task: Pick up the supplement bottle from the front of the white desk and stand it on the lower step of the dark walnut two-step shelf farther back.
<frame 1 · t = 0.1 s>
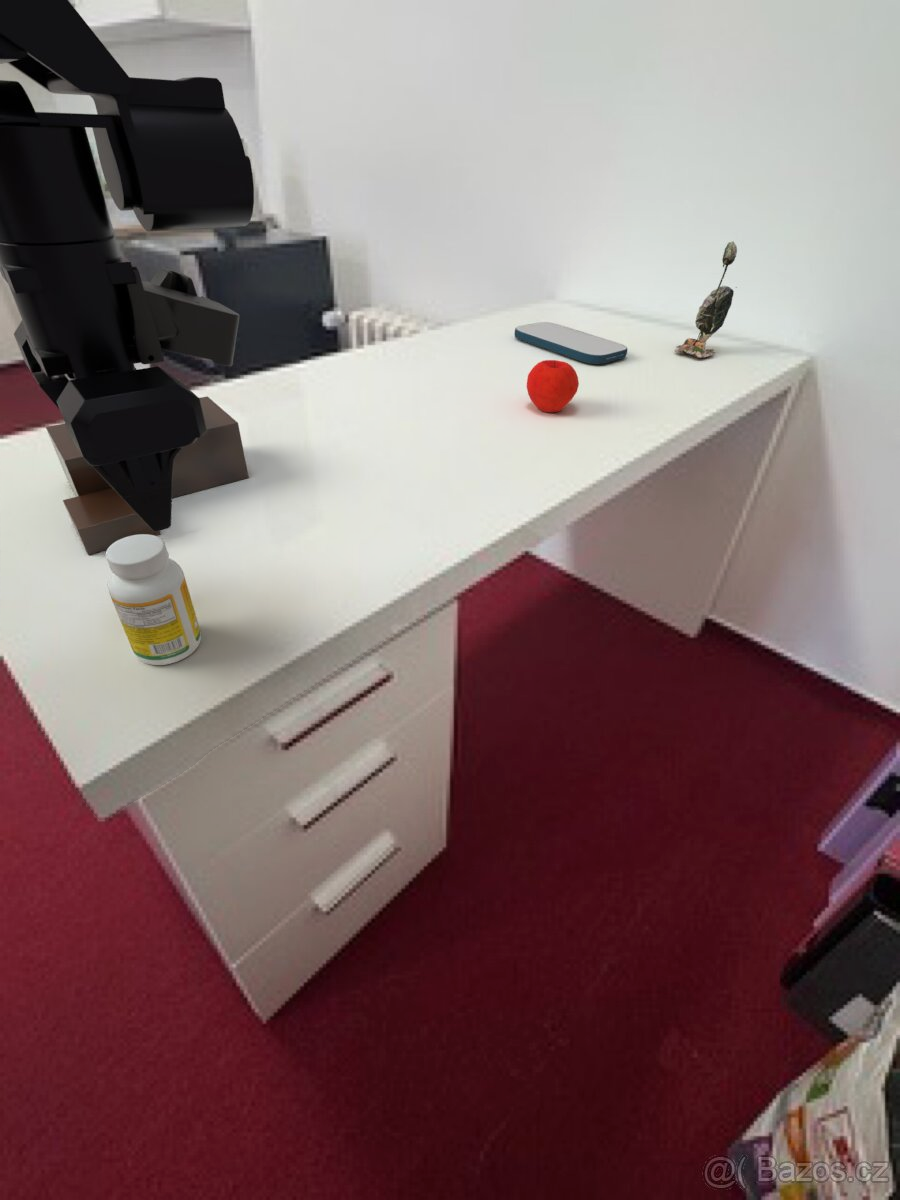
hand: (141, 499, 41), 14 cm above the table, tool pointing down, fingers open, 9 cm apart
external hard drive: (567, 348, 121), on the table
plant with pod: (696, 353, 121), on the table
apple: (548, 410, 94), on the table
supplement bottle: (169, 646, 50), on the table
step shelf: (159, 479, 72), on the table
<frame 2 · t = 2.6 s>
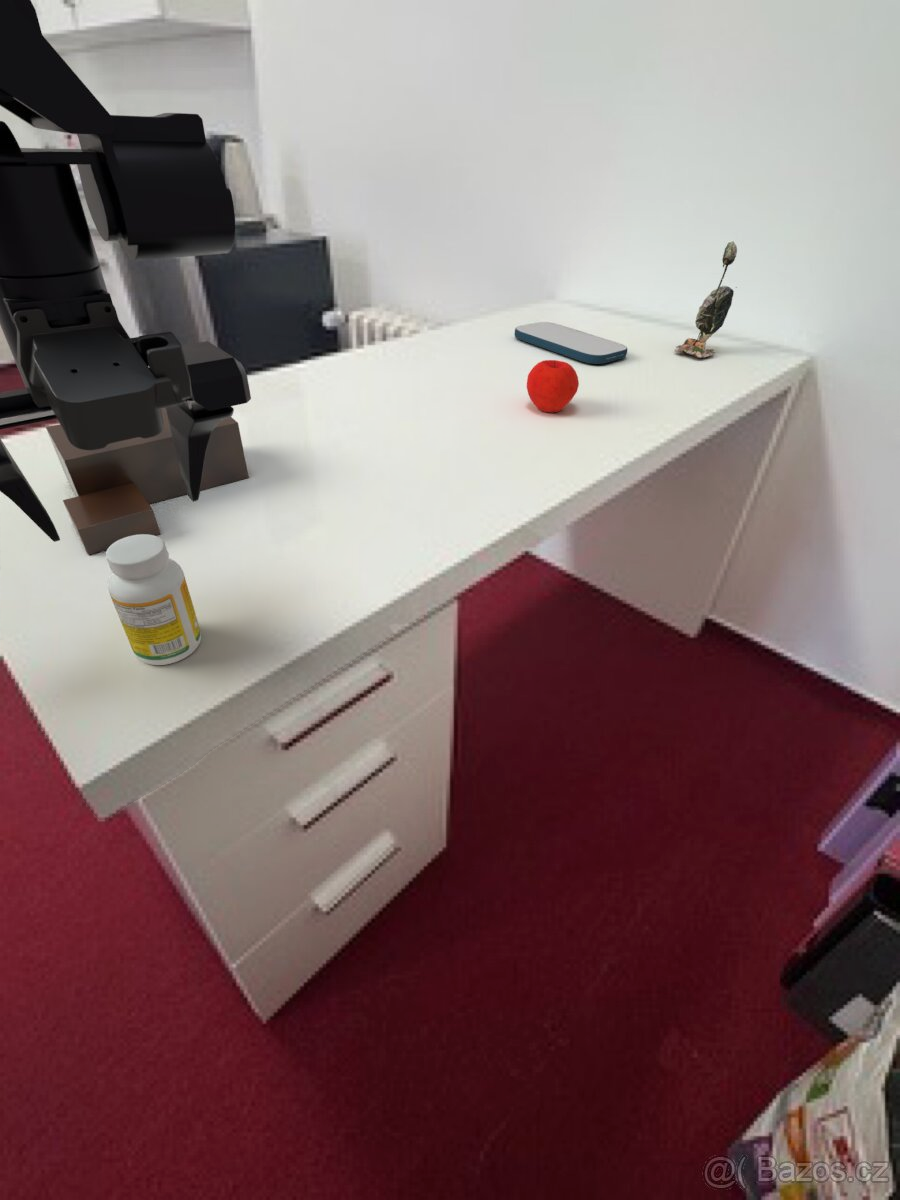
hand: (128, 517, 42), 12 cm above the table, tool pointing down, fingers open, 9 cm apart
nothing on the table moved.
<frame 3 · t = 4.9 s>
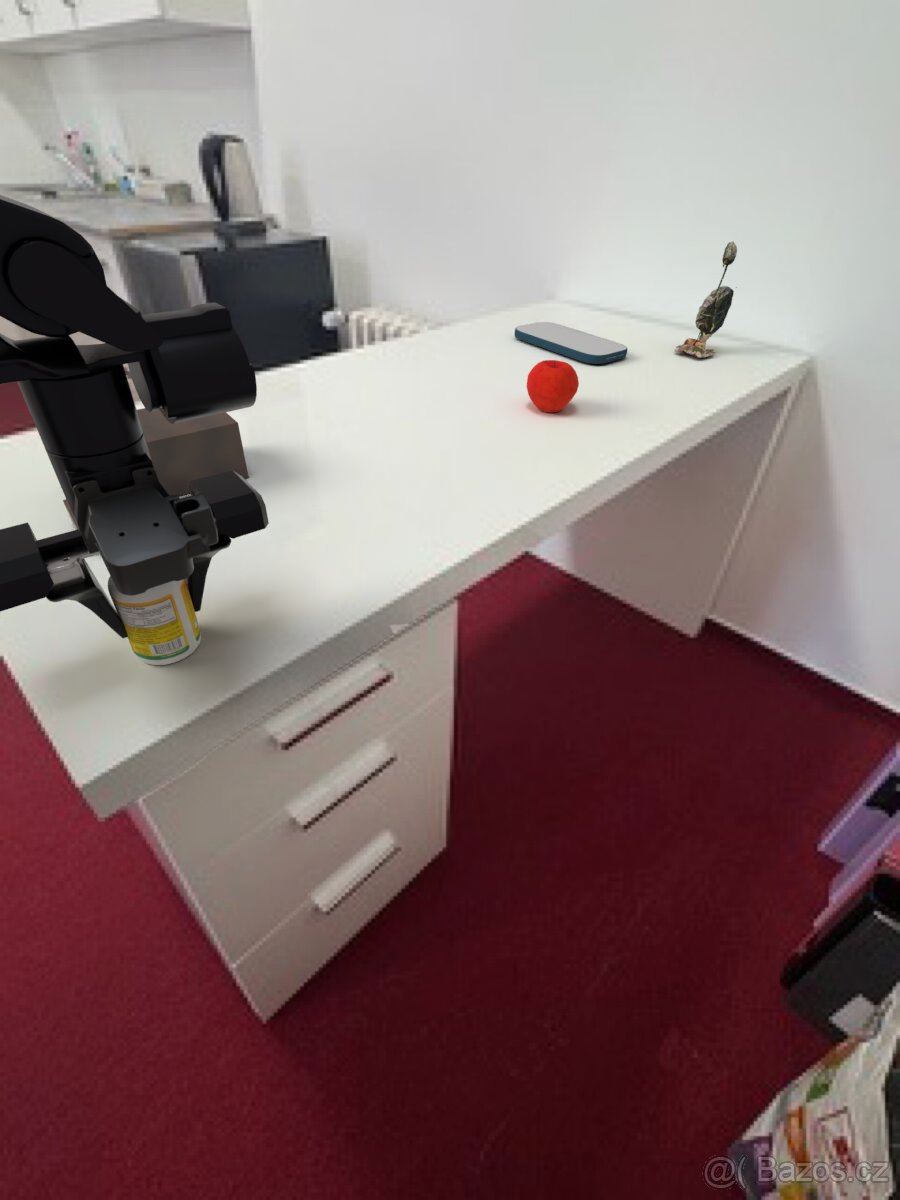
hand: (160, 621, 48), 3 cm above the table, tool pointing down, fingers closed on supplement bottle, 5 cm apart
supplement bottle: (169, 646, 50), on the table, touching gripper
everything else where it was.
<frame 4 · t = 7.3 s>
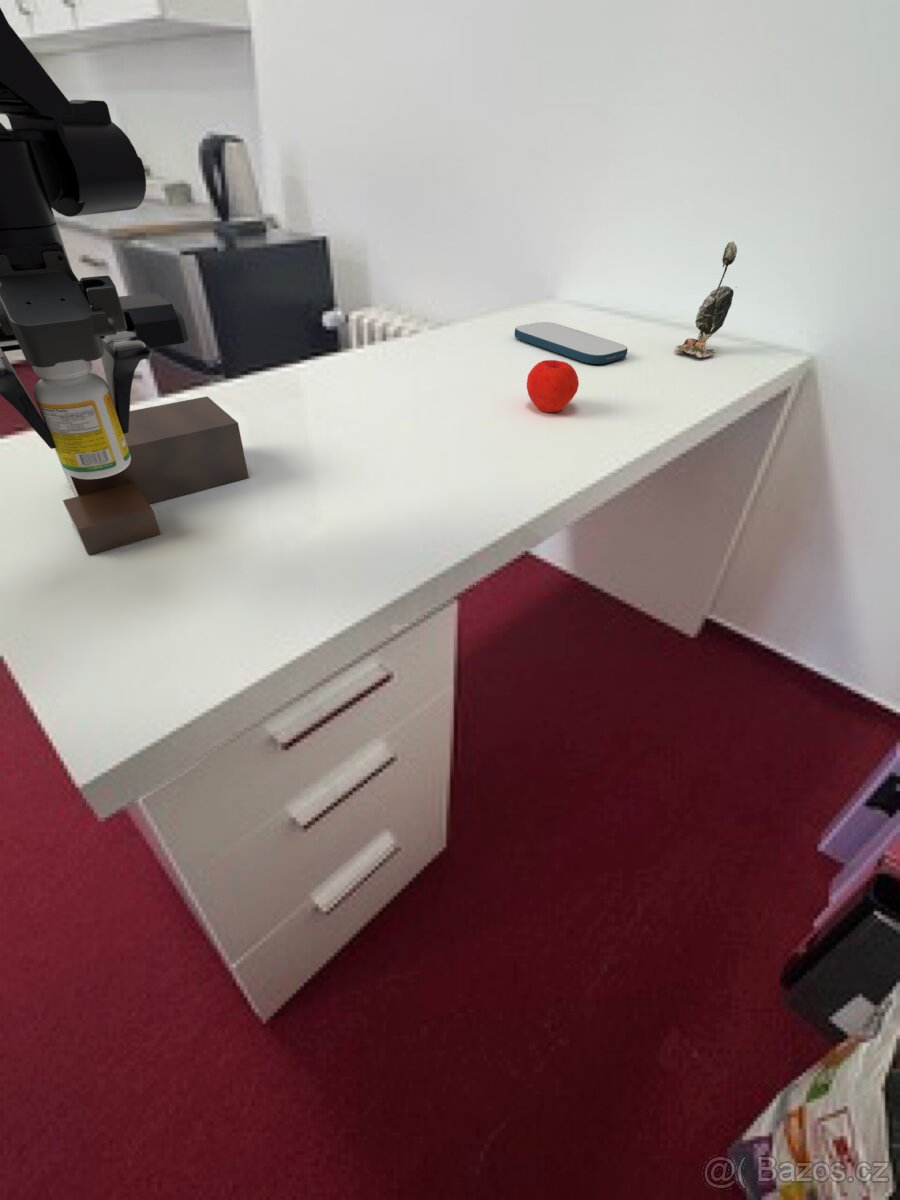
hand: (89, 439, 51), 13 cm above the table, tool pointing down, fingers closed on supplement bottle, 5 cm apart
supplement bottle: (100, 468, 52), point 10 cm above the table, touching gripper
everything else where it was.
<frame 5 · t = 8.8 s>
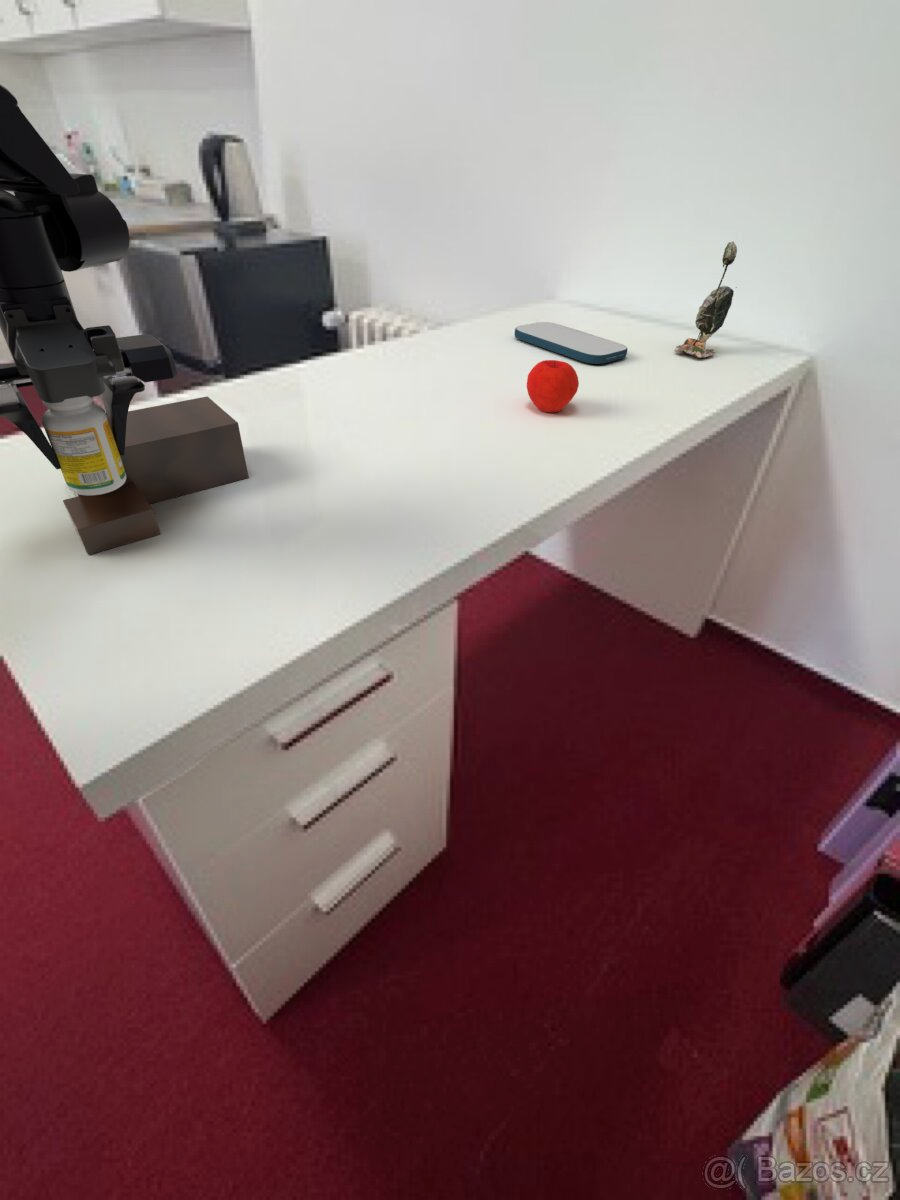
hand: (90, 460, 58), 8 cm above the table, tool pointing down, fingers closed on supplement bottle, 5 cm apart
supplement bottle: (99, 485, 59), point 5 cm above the table, touching gripper
everything else where it was.
when the fingers open (6 cm above the table, at t = 9.9 s): supplement bottle stays where it is, resting on step shelf.
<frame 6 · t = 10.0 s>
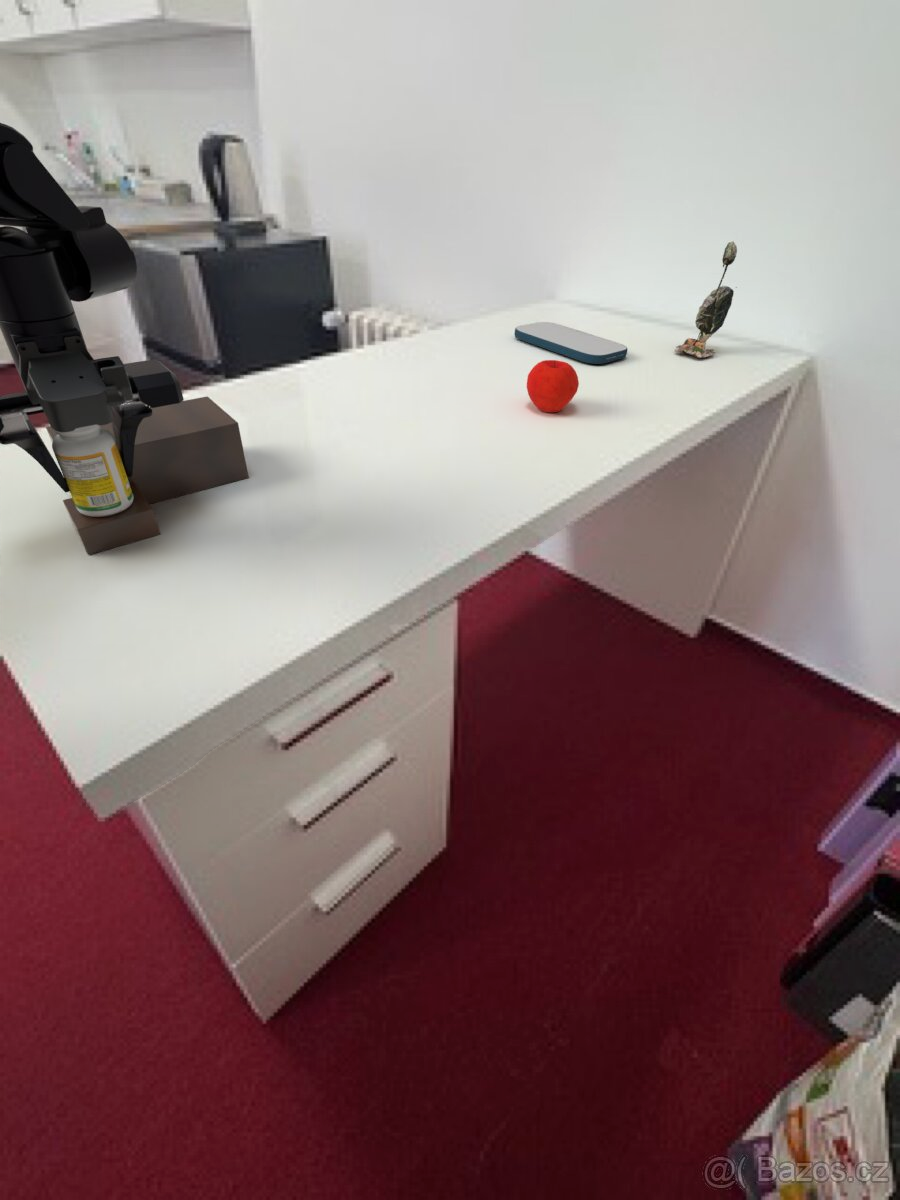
hand: (98, 482, 59), 6 cm above the table, tool pointing down, fingers open, 5 cm apart
supplement bottle: (107, 506, 61), point 3 cm above the table, touching step shelf
everything else where it was.
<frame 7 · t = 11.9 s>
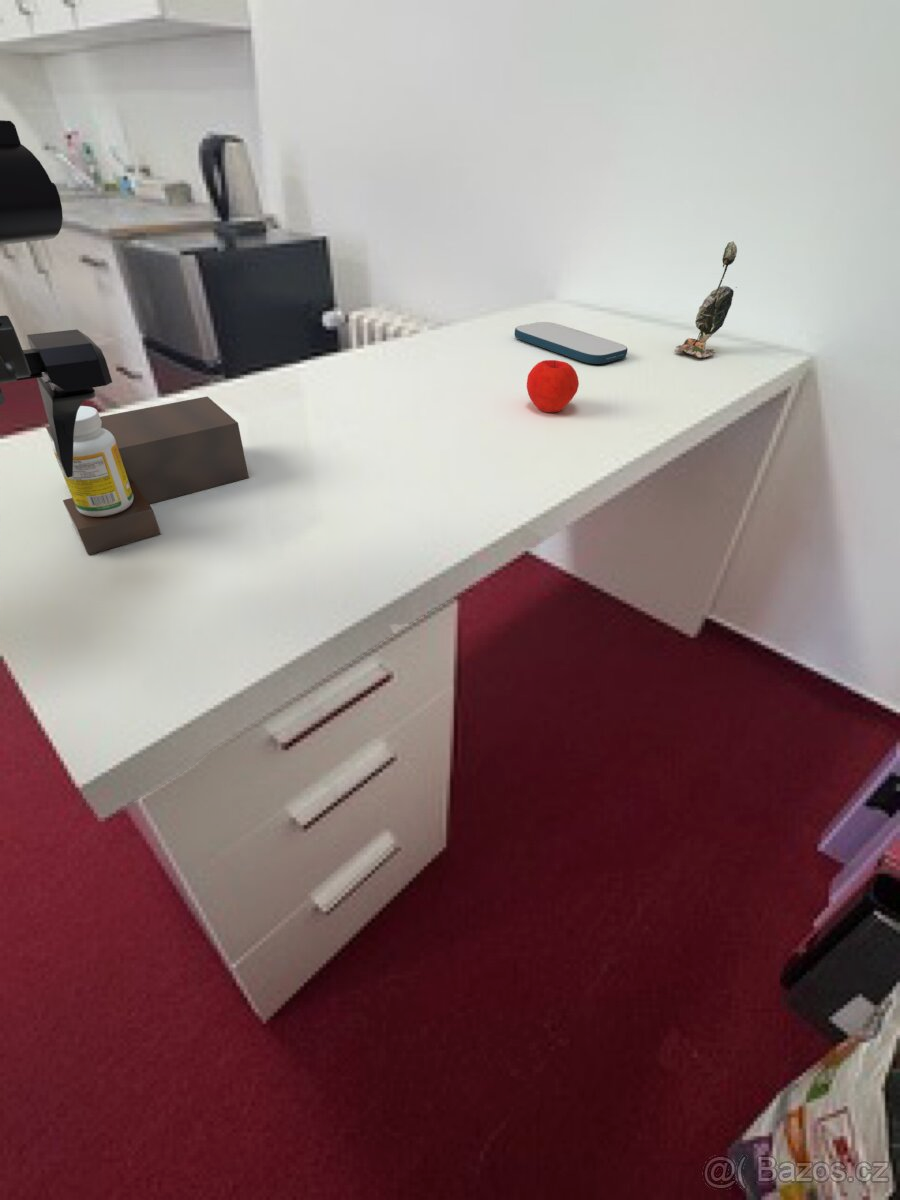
hand: (1, 490, 45), 12 cm above the table, tool pointing down, fingers open, 9 cm apart
nothing on the table moved.
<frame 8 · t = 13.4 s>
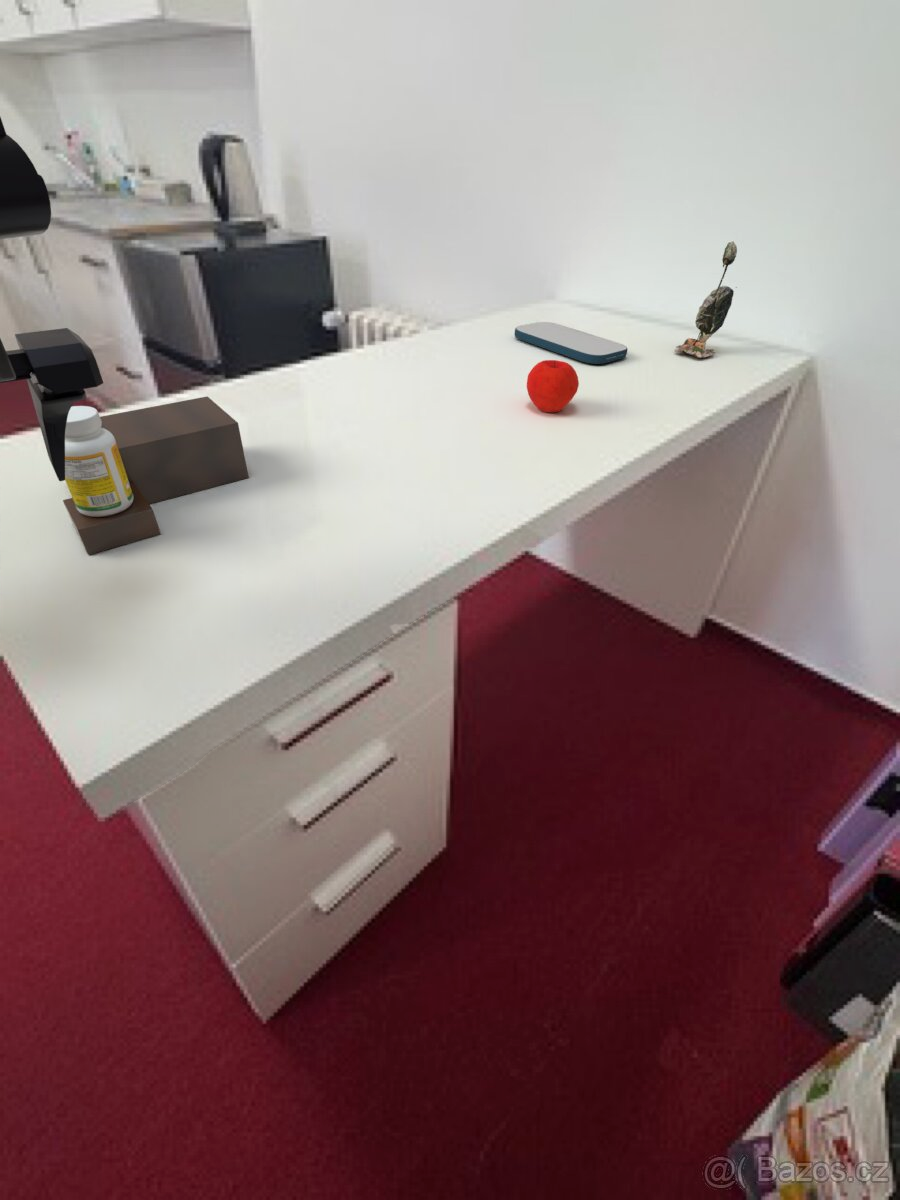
nothing on the table moved.
at the end: supplement bottle 0.1 cm from the target spot on the step shelf, point 2.8 cm above the step shelf's base; supplement bottle tilted 0°; the gripper is holding nothing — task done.
